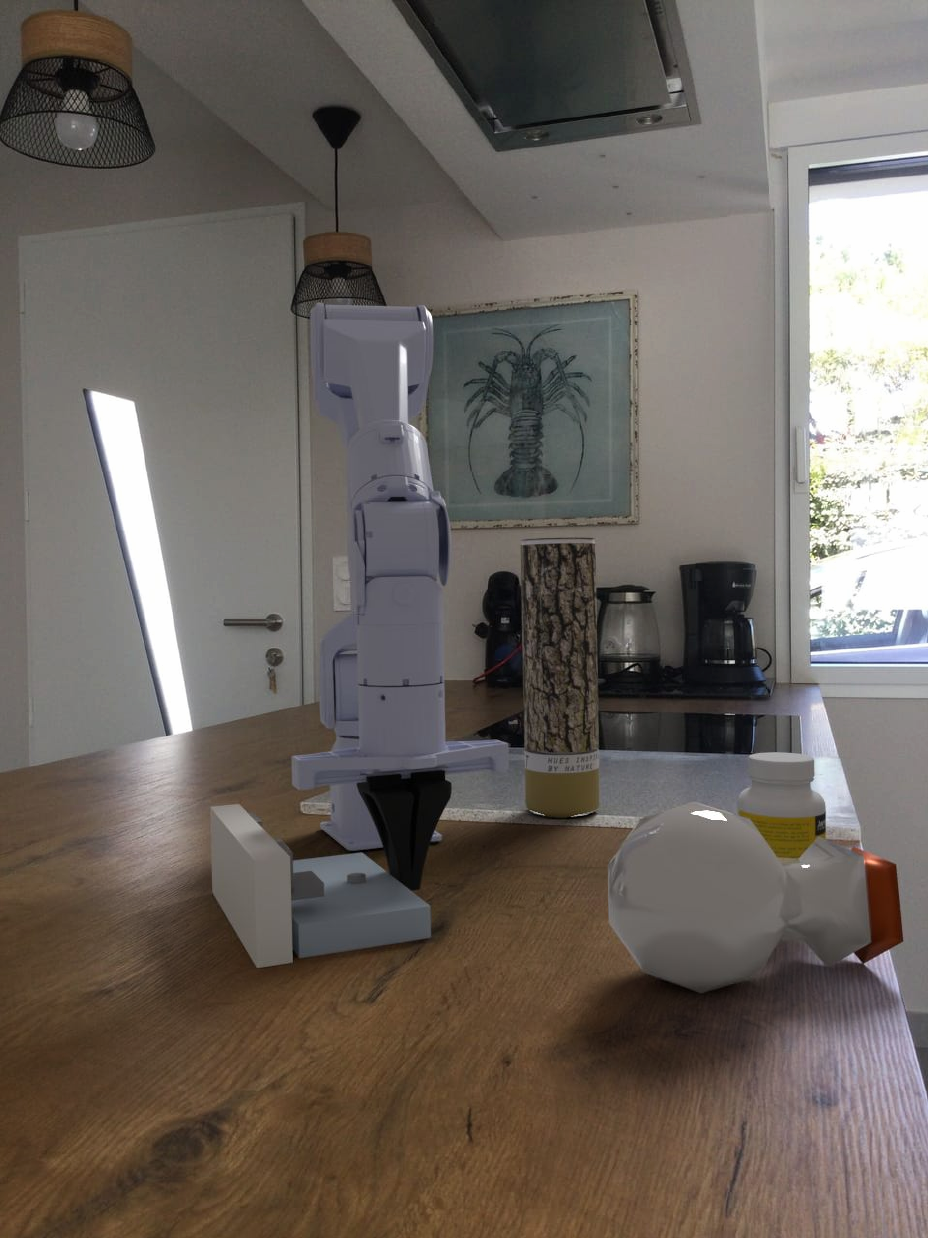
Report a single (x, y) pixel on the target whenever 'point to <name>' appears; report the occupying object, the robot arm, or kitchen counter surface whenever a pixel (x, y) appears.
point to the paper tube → (560, 675)
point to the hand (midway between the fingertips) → (405, 887)
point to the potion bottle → (742, 898)
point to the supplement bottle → (783, 802)
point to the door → (355, 908)
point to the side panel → (256, 884)
